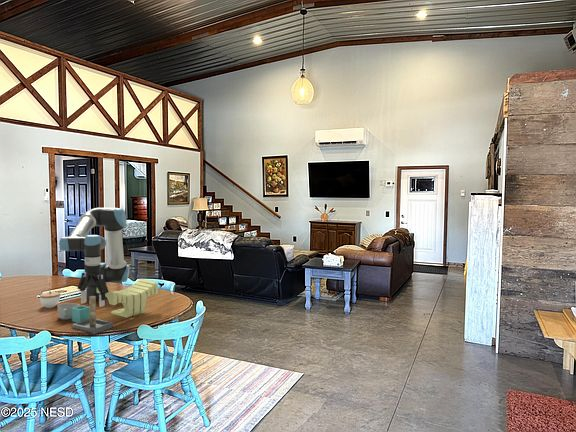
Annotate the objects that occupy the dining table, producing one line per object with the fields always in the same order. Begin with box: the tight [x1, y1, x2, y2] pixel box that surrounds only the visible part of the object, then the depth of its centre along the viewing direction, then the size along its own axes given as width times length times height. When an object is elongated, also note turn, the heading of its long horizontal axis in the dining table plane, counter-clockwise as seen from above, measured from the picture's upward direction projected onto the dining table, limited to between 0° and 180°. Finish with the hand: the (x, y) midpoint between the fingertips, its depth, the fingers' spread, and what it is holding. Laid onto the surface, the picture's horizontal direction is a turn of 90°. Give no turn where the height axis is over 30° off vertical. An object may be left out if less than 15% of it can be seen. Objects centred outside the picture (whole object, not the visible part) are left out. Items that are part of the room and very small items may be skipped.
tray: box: [71, 318, 114, 335], centre depth 207 cm, size 16×12×3 cm
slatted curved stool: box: [97, 278, 159, 318], centre depth 231 cm, size 30×16×18 cm, turn 149°
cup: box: [71, 305, 90, 323], centre depth 216 cm, size 6×6×8 cm
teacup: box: [57, 302, 80, 321], centre depth 219 cm, size 14×11×8 cm
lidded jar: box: [39, 291, 61, 309], centre depth 243 cm, size 11×11×9 cm
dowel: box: [88, 296, 97, 327], centre depth 206 cm, size 3×3×16 cm
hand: (92, 304), depth 206 cm, fingers open, 13 cm apart
